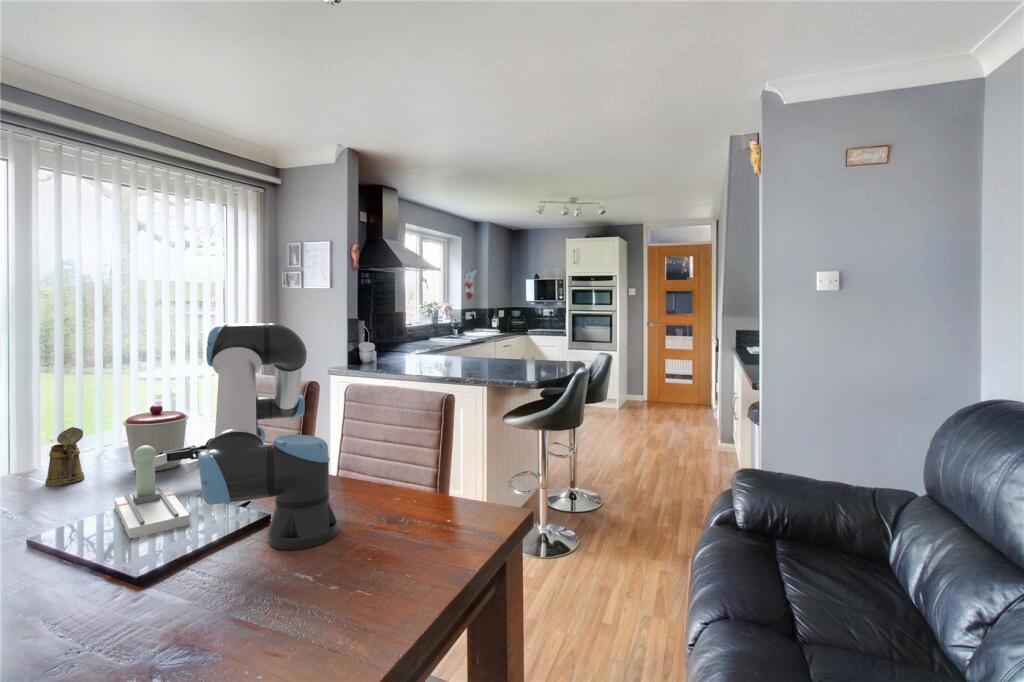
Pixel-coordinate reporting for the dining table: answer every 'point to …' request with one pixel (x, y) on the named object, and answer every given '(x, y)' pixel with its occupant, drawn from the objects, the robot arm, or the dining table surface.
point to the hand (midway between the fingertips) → (166, 466)
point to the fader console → (151, 514)
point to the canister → (156, 432)
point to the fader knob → (145, 475)
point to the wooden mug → (65, 459)
